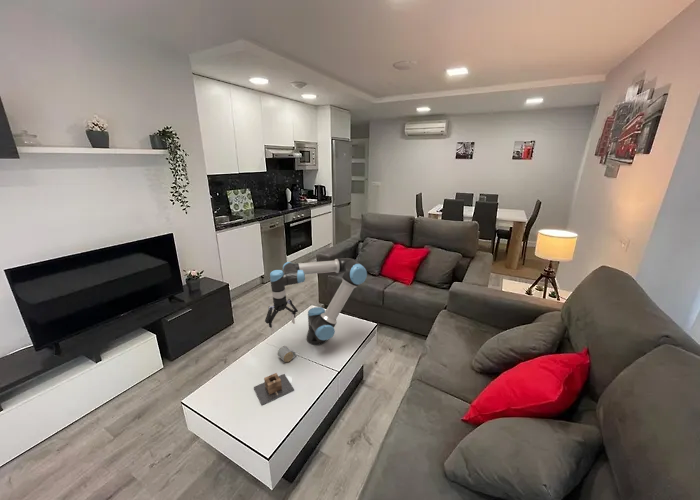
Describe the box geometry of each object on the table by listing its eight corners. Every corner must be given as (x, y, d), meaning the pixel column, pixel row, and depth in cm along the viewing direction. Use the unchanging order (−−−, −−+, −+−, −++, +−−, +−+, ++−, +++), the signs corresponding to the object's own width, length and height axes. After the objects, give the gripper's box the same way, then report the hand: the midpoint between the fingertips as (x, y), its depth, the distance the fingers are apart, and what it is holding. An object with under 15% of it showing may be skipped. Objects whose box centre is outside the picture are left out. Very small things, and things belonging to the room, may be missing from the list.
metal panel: (284, 375, 170) (283, 368, 168) (294, 390, 159) (293, 383, 157) (253, 388, 160) (252, 381, 159) (261, 405, 149) (260, 398, 148)
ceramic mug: (284, 365, 178) (283, 354, 176) (277, 358, 184) (276, 348, 181) (298, 357, 185) (298, 347, 183) (291, 351, 191) (291, 341, 188)
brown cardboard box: (277, 381, 164) (276, 372, 162) (281, 389, 158) (280, 379, 157) (265, 386, 160) (264, 377, 158) (269, 394, 155) (268, 385, 153)
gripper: (295, 287, 178) (298, 317, 185) (256, 300, 164) (261, 332, 171) (301, 291, 173) (304, 322, 180) (261, 305, 158) (266, 338, 165)
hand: (283, 327), depth 175 cm, fingers open, 13 cm apart
